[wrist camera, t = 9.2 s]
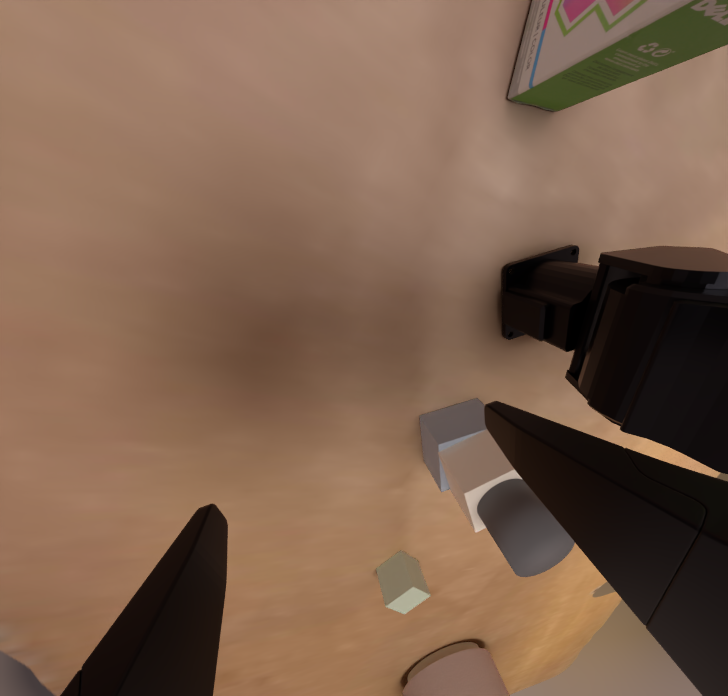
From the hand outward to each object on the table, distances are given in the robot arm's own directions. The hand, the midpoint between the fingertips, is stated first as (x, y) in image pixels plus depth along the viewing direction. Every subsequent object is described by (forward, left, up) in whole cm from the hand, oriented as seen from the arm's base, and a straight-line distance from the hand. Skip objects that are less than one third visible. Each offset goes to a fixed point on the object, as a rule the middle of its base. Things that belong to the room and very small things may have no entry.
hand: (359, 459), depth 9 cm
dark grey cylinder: (-9, +15, -5) cm, 18 cm away
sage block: (0, +34, -13) cm, 36 cm away
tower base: (-9, +15, -13) cm, 22 cm away
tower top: (-9, +15, -9) cm, 20 cm away
